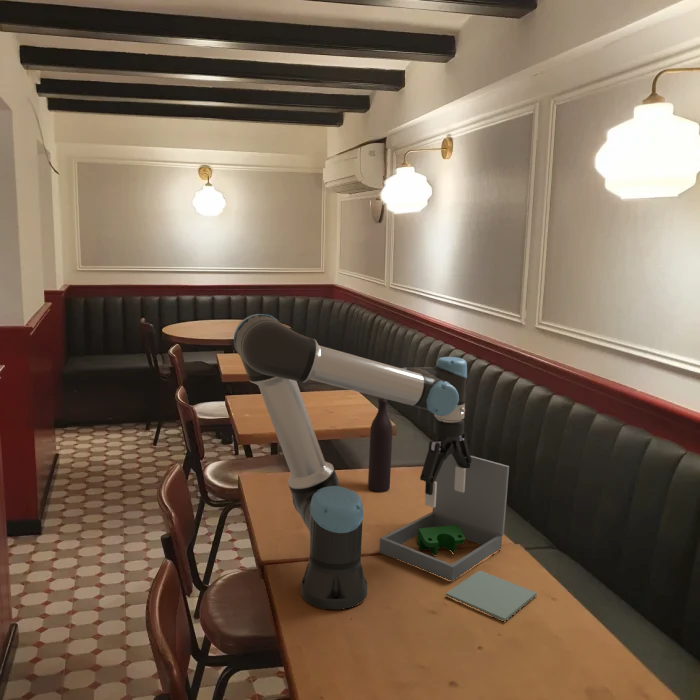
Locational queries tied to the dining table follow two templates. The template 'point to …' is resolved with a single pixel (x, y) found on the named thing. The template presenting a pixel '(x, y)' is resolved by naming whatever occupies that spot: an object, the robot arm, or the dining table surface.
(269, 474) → the dining table surface
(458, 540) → the clamp
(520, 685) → the dining table surface
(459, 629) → the dining table surface
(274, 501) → the dining table surface
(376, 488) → the wine bottle
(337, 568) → the robot arm
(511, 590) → the mat
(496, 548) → the case
